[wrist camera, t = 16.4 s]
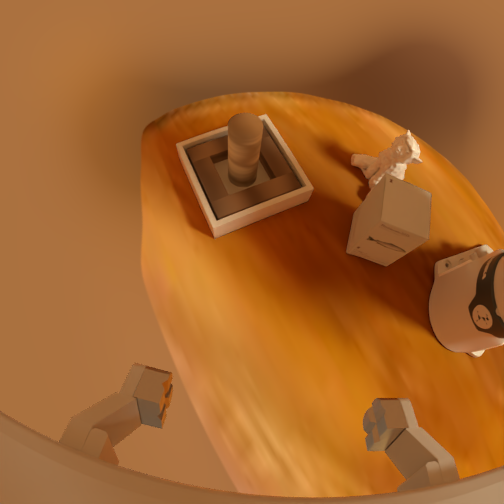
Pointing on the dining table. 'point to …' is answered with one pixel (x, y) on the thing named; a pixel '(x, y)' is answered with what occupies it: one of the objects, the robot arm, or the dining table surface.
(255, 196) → the bore plate
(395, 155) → the seated beast figurine
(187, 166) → the open box
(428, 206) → the supplement box
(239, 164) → the birch peg
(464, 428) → the dining table surface
